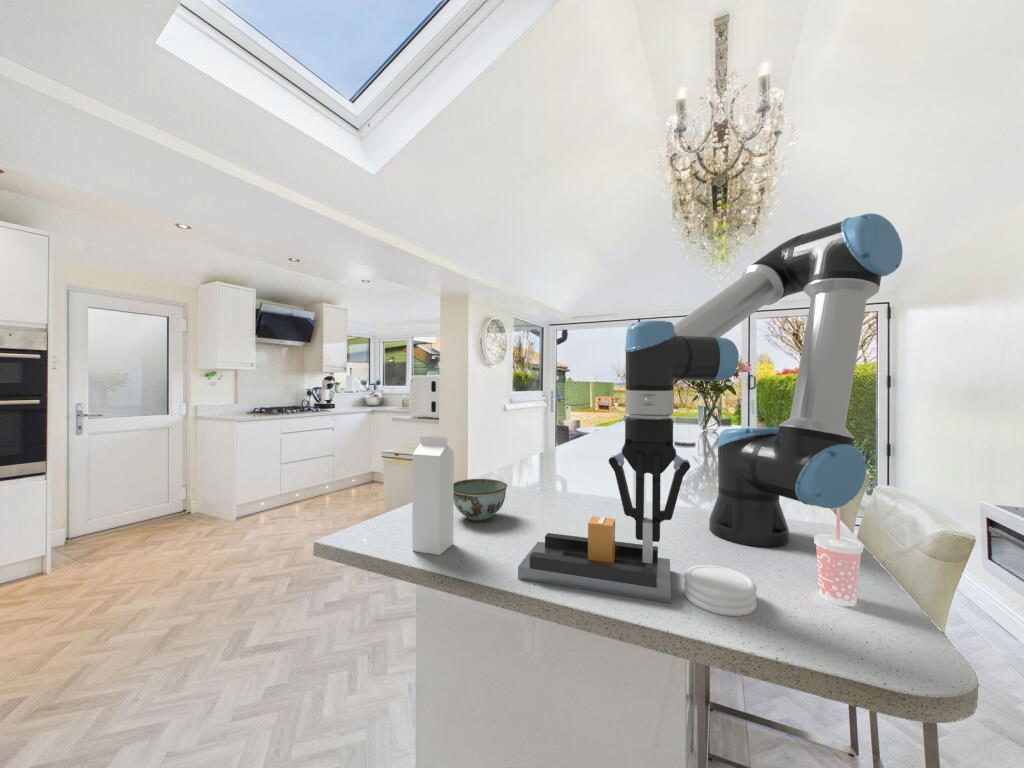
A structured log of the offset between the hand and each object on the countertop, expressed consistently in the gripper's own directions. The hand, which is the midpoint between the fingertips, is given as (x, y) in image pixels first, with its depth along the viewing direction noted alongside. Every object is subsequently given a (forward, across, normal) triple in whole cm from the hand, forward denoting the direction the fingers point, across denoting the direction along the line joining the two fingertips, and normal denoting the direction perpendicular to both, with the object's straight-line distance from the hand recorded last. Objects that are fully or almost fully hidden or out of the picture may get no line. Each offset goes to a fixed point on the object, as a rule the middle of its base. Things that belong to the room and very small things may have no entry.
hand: (647, 559), depth 72 cm
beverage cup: (+4, +28, +4) cm, 28 cm away
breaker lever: (+2, -8, 0) cm, 8 cm away
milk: (+4, -40, +1) cm, 41 cm away
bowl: (+4, -39, +21) cm, 45 cm away
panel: (+4, -8, 0) cm, 9 cm away
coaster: (+4, +10, -2) cm, 11 cm away
